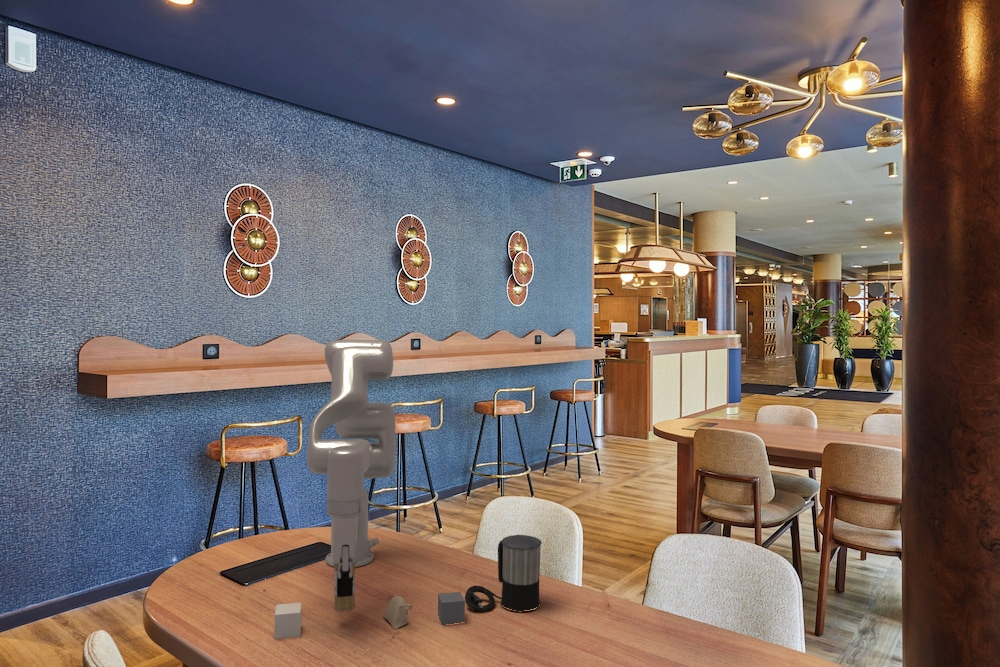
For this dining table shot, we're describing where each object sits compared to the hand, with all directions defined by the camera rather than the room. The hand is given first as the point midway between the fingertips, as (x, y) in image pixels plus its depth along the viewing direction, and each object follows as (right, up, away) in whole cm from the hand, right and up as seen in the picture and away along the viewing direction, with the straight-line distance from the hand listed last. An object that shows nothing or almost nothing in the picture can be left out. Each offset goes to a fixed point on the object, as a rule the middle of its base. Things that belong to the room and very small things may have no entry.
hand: (344, 589), depth 142 cm
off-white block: (-11, -8, -3) cm, 14 cm away
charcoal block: (+22, -8, +3) cm, 24 cm away
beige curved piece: (+11, -8, +2) cm, 14 cm away
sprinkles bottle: (0, -4, 0) cm, 4 cm away
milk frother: (+34, -8, +11) cm, 36 cm away
